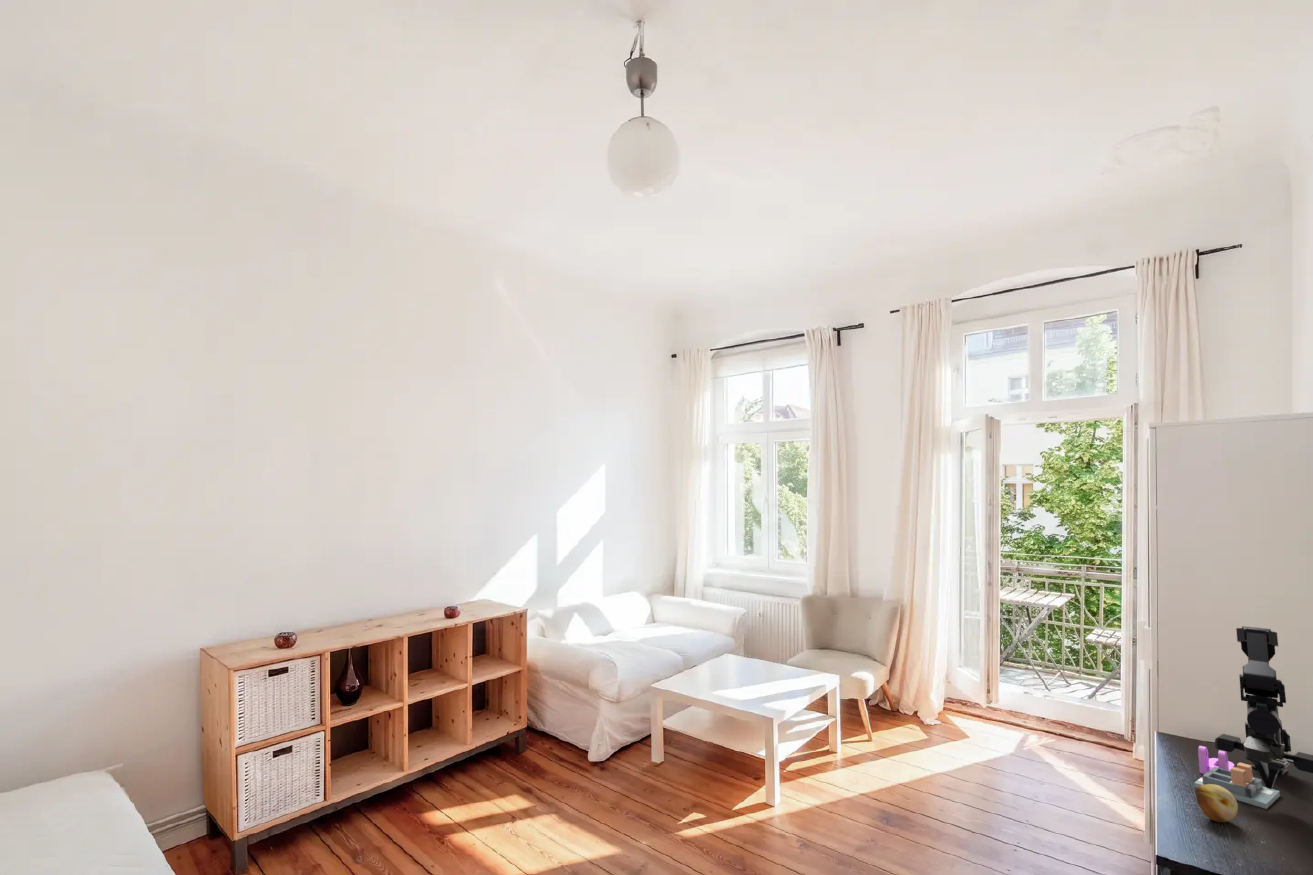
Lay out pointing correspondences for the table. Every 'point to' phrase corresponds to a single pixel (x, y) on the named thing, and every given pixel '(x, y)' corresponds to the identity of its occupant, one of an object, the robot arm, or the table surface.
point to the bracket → (1213, 760)
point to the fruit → (1216, 802)
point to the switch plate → (1240, 788)
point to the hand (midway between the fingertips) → (1269, 788)
